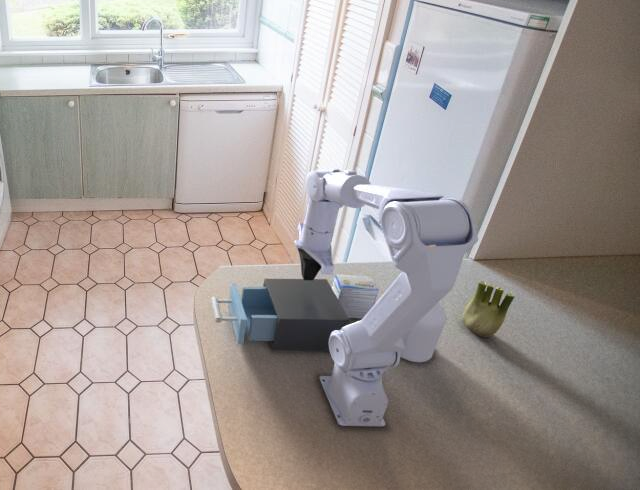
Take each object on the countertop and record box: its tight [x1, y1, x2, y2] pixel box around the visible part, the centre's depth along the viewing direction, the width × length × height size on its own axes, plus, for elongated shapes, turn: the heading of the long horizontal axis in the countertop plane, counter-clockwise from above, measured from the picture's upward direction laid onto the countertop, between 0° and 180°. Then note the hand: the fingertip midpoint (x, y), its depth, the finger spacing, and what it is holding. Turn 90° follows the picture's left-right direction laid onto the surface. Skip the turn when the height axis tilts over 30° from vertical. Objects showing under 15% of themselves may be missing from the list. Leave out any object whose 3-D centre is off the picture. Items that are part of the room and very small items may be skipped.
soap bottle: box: [400, 245, 448, 363], centre depth 88 cm, size 9×9×25 cm
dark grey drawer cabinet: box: [262, 278, 350, 352], centre depth 95 cm, size 14×12×9 cm
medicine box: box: [331, 274, 380, 320], centre depth 99 cm, size 8×4×9 cm, turn 84°
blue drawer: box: [210, 282, 278, 345], centre depth 95 cm, size 17×10×7 cm, turn 89°
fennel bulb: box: [461, 280, 516, 338], centre depth 94 cm, size 6×5×12 cm
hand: (307, 278), depth 96 cm, fingers closed
